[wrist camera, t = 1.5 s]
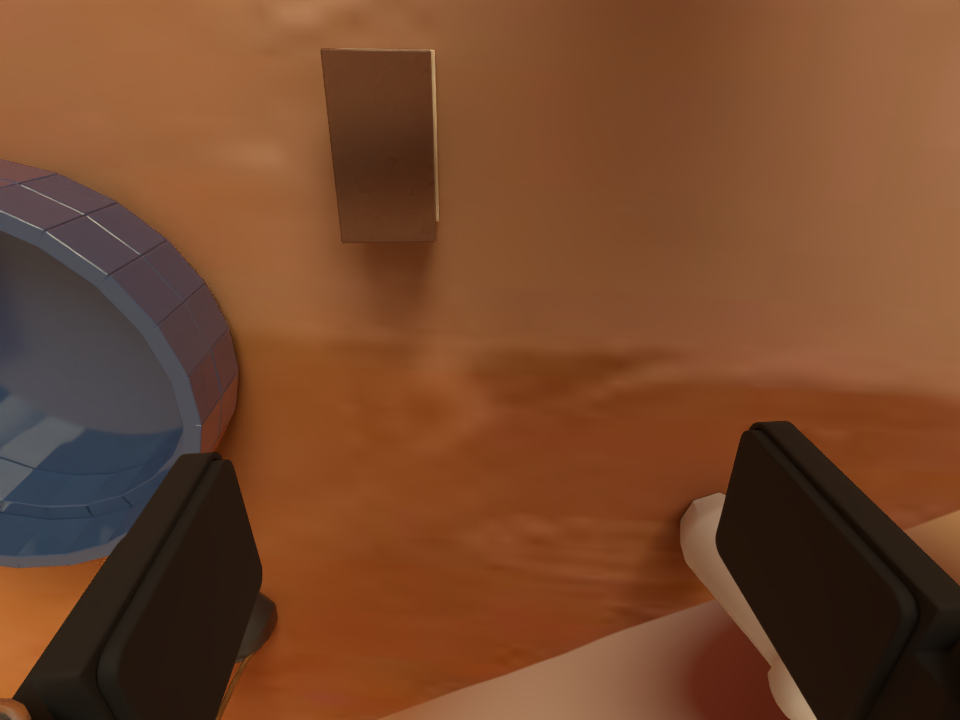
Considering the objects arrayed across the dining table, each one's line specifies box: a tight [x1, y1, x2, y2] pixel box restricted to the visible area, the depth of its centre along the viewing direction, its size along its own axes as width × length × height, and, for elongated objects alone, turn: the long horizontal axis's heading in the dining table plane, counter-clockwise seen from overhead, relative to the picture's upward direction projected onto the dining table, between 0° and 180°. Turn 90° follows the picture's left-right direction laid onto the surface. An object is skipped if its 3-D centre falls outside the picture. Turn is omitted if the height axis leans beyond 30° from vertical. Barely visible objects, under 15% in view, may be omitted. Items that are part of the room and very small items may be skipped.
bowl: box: [0, 159, 239, 568], centre depth 25 cm, size 19×19×6 cm
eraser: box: [321, 48, 439, 243], centre depth 22 cm, size 7×4×6 cm, turn 179°
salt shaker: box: [680, 492, 817, 720], centre depth 31 cm, size 6×6×13 cm
